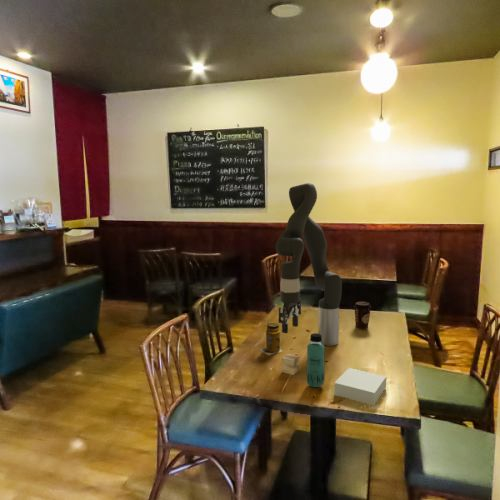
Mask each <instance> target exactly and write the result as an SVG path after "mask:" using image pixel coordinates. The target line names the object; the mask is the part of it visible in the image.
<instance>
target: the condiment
mask: <svg viewBox="0 0 500 500" xmlns="http://www.w3.org/2000/svg"><path fill="white" fill-rule="evenodd" d="M265 333H266V334H265V336H266V337H265V339H266V341H265V343H266V347H264V348H260V349H259V351H260V352H262V353H263V354H265V355H267V356H271V355H274V354H279V353H282V352H284V350H282V349H281V339H280V338H281V333H280V325H279V323H276V322H271V323H268V324H267V325H266V332H265Z"/></svg>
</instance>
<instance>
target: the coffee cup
mask: <svg viewBox="0 0 500 500" xmlns="http://www.w3.org/2000/svg"><path fill="white" fill-rule="evenodd" d="M353 309H354V317H355V318H354V322H355V325H354V327H355V329H357V330H362V331H363V330H367V329H369V323H370V317H371V309H372V306H371V305H370V302H368V301H357V302H355V304H354V305H353Z"/></svg>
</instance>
